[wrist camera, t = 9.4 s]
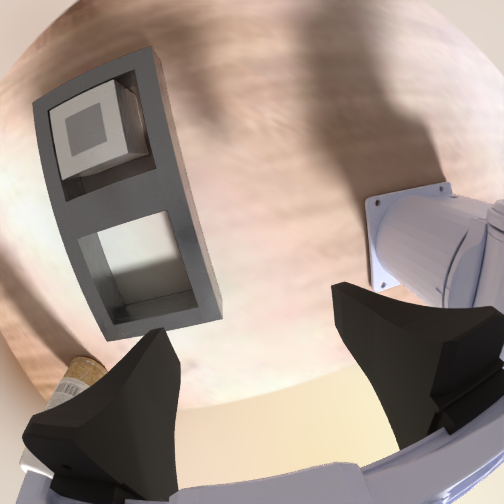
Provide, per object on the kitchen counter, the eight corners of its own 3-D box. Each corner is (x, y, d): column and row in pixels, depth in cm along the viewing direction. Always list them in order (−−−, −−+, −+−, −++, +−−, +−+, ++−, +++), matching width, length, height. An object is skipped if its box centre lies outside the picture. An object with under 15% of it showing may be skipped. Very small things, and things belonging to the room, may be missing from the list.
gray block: (136, 95, 16) (113, 79, 12) (148, 154, 17) (127, 152, 13) (81, 118, 16) (49, 110, 12) (93, 174, 17) (61, 180, 13)
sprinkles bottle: (72, 379, 23) (27, 479, 10) (70, 348, 21) (9, 455, 9) (111, 393, 23) (78, 503, 11) (112, 363, 22) (67, 484, 10)
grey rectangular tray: (161, 61, 15) (151, 45, 12) (222, 298, 21) (222, 318, 18) (53, 107, 15) (32, 102, 12) (118, 321, 21) (107, 341, 18)
